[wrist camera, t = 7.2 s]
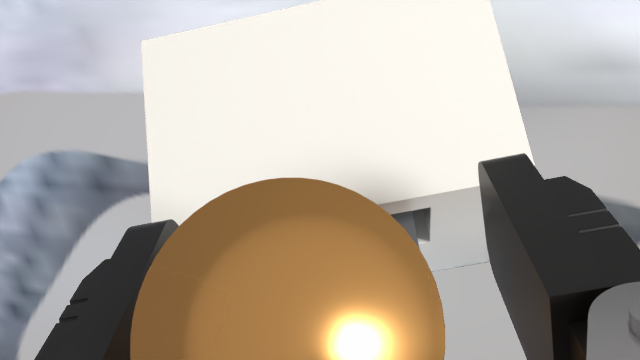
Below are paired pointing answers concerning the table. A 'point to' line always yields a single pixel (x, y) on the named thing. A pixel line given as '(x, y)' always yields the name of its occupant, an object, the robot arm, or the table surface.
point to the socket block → (338, 111)
